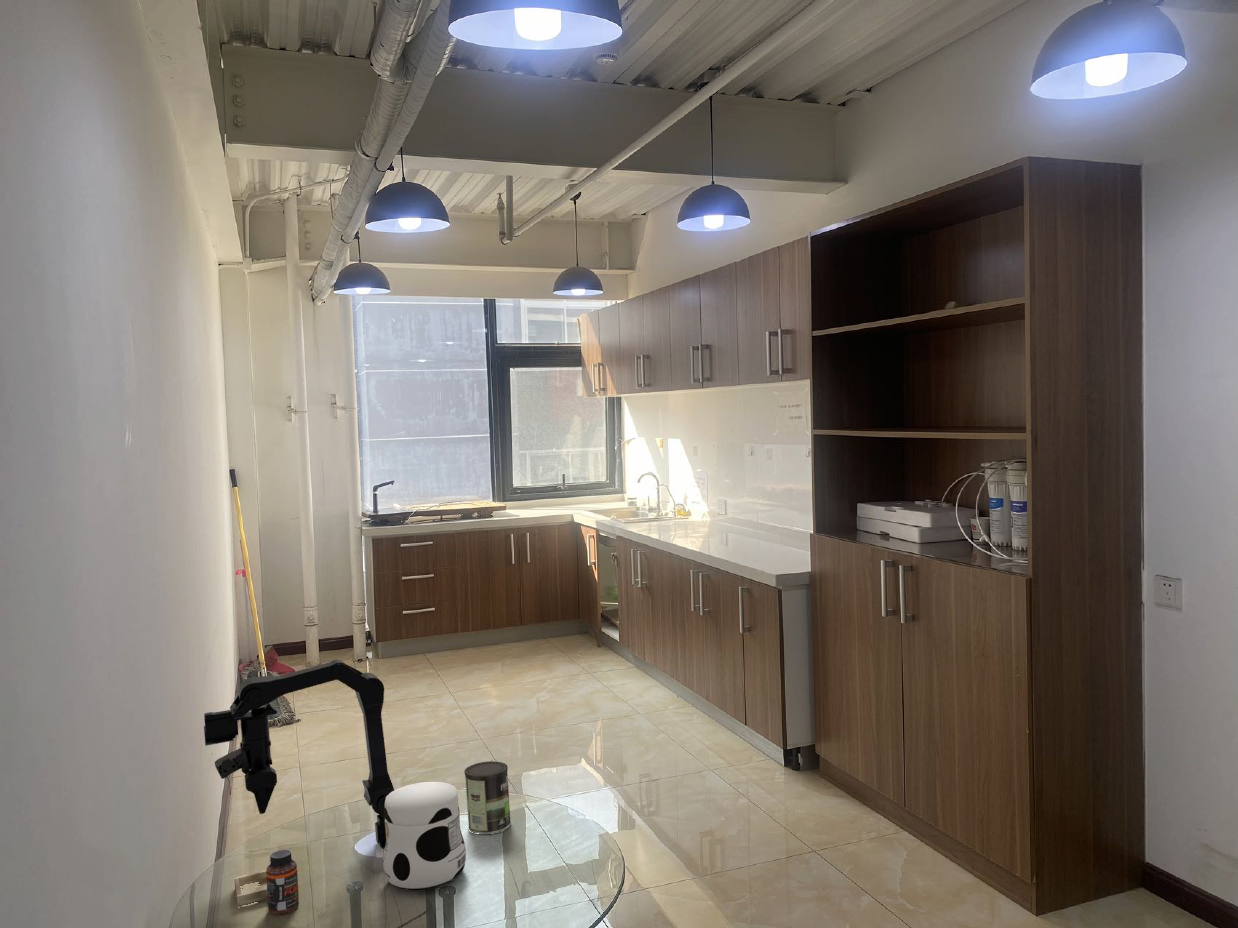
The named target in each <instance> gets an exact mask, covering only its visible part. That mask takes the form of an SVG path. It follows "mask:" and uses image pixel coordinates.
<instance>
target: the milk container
mask: <svg viewBox="0 0 1238 928" xmlns="http://www.w3.org/2000/svg"><path fill="white" fill-rule="evenodd" d="M384 814H385V829H386V845H385V848H384V851H383V855H382V856H383V857H382V864H383V871H384V875H385V878H386V880H387V881H388V882H389V883H390V885H391V886H394V887H395V888H398V889H400V890H404V891H412V892H414V891H415V892H416V891H418V892H419V891H428V890H432V889H436V888H439V887H442V886H444V885H447V884H449V883H451V882H452V881H454V880H455V879H456V878H457V877H458V878H459V876H460V875H461V874H462V872H463V870H464V869H465V866H466V859H467V847H466V842H465V839H464V836H463V834H462V830H461V823H460V821H461V820H460V819H461V817H460V816H461V815H460V807H459V795H458V790H457V788H456V786H454V785H453V784H450V783H447V782H443V781H440V782H439V781H425V782H424V781H422V782H416V783H410V784H408V785H407V784H406V785H405V786H401V787H399V788H397V789H394V791H392V792H391V793H390V794H389V795H388V796H386V800H385V808H384Z"/></svg>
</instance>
